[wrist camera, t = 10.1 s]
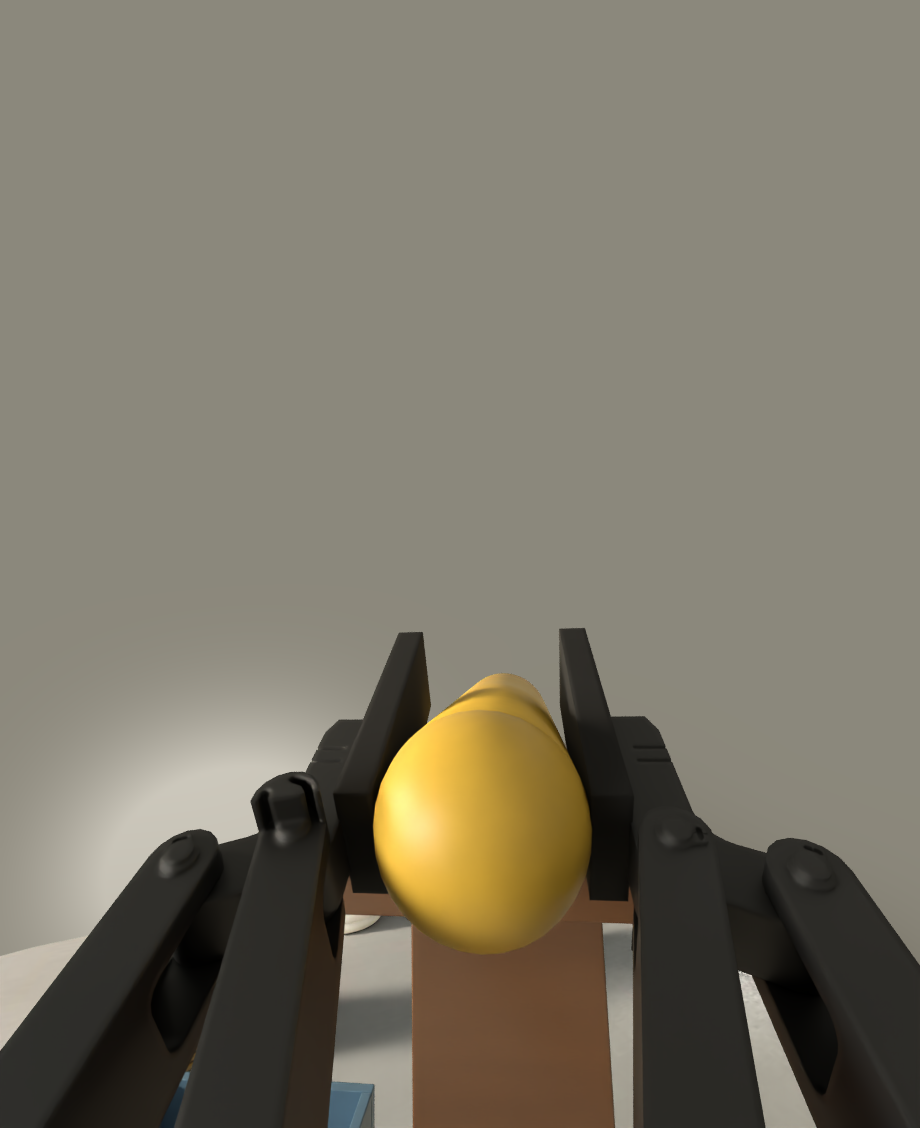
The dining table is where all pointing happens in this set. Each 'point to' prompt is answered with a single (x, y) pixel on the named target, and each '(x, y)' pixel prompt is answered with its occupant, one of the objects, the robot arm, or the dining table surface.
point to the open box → (346, 1108)
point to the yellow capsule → (484, 822)
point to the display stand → (511, 1024)
